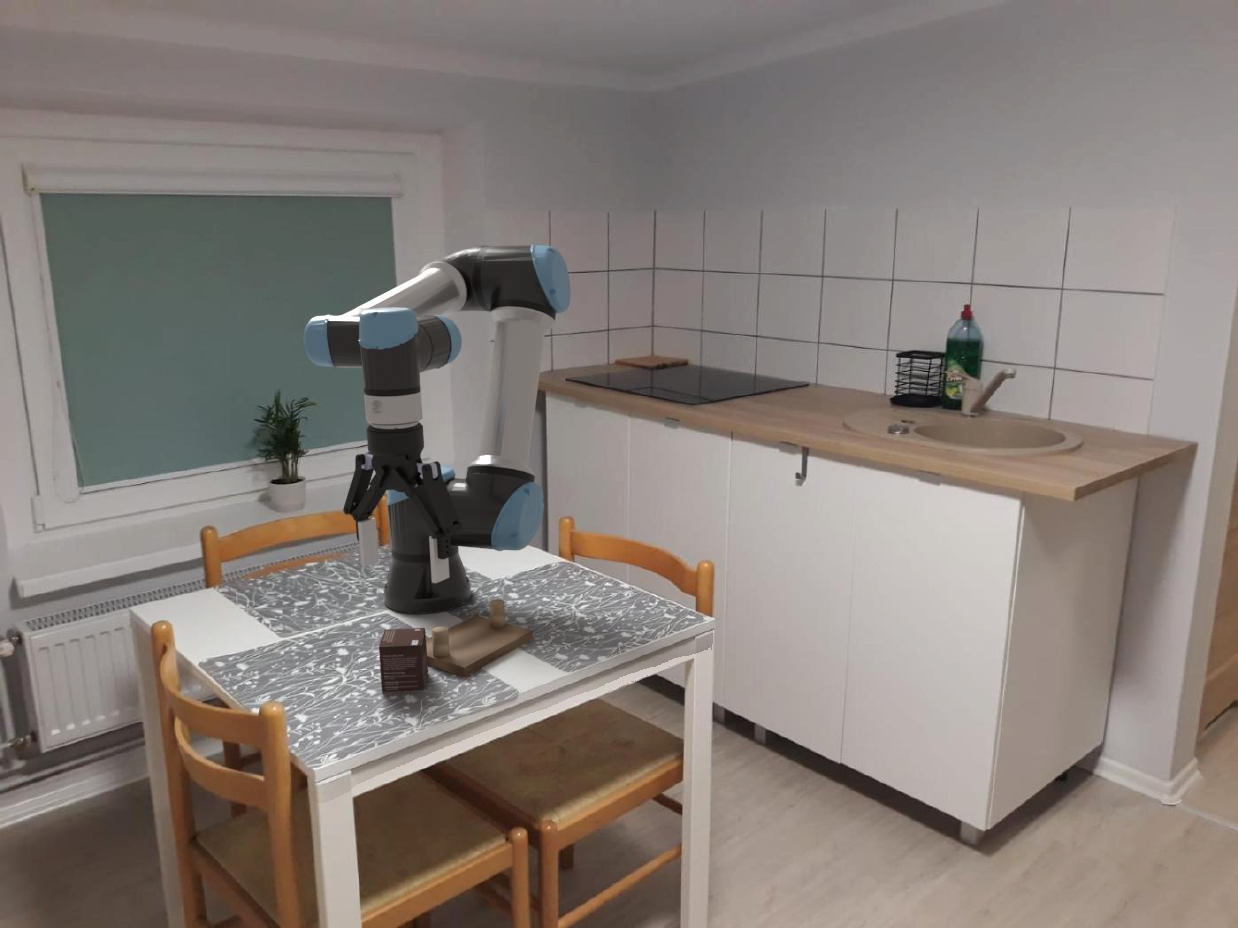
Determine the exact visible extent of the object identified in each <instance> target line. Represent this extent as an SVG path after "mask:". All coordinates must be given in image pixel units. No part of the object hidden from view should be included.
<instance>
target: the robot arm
mask: <svg viewBox="0 0 1238 928" xmlns="http://www.w3.org/2000/svg"><path fill="white" fill-rule="evenodd" d="M570 281H571V280H570V275H569V271H568V266H567V263H566V260H565V258H564V257H563V255H562V253H561V252H560V250H558V249H557V248H556V247H553V246H551V245H537V244H535V243H534V244H531V245H476V246H475V245H474V246H471V247H466V248H463V249H460V250H456V251H454V252H452V253H448V254H447V255H444V256H442V257H440V258H438V259H435V260H434V261H431V262H429V263H427V264H426V265H424V266H423V267H422V268H421V270H419V272H418V274H417V276H416V277H413V278H411V279H410V280H408V281H405V282H404V283H402V284H399V285H398V286H396V287H394V288H392V289H390V290H389V291H386V292H385V293H382V294H380V295H379V296H376V297H374V298H373V299H371V300H369V301H367V302H366V303H363V304H361V305H359V306H357V307H356V308H354V309H352V310H349V311H347V312H345V313H343V314H341V315H332V314H326V315H317V316H314V317H312V318H311V319H310V320H309V321H308V322H307V324H306V326H305V328H304V332H303V345H304V351H305V354H306V355H307V358H308V359H309V361H311V363H313V364H314V365H316V366H320V367H328V368H329V367H330V368H333V369H338V368H340V369H361V370H362V371H361V372H362V379H363V394H364V395H363V396H364V409H365V410H364V411H365V422H367V423H368V424H370V425H368V426H367V428H366V440H367V442H366V443H367V450H368V451H366V452H363V453H358V454H356V455H355V460H354V462H355V463H354V464H355V465H354V466H355V469H354V472H353V475H352V478H351V483H350V485H349V488H348V492H347V496H346V499H345V502H344V505H343V513H344V514H345V515H346V516H347V515H350V516H352V519H353V520H354V522H355V529H356V539H357V541H358V543H359V544H358V545H359V557H360V564H361V565H360V566H361V567H367V566H370V565H372V564H375V563H377V562H379V561H380V560H379V559H380V558H379V548H378V546H379V544H378V533H377V519H376V517H372V516H374V515H375V513H374V511H375V510H376V508H377V506H378V505H379V503H380V502H381V500H382V499H383V497H384V495H385V493H386V494H387V496H386V502H385V503H386V506H387V516H388V518H387V519H388V529H389V530H388V531H389V541H390V542H389V543H390V554H391V561H390V564H389V569H388V574H387V578H386V579H387V580H386V582H385V585H384V586H383V587H384V588H383V600H384V604H385V605H386V607H387V608H389V609H391V610H392V611H396V612H400V613H406V614H430V613H431V614H432V613H439V612H444V611H448V610H452V609H455V608H457V607H459V606H461V605H463V604H466V603H467V602H468V601H469V600H470V598H471V596H472V588H471V587H472V586H471V582H470V579H469V576H467V573H466V570H465V567H464V564H463V562H462V558H461V556H460V552H459V551H460V550H459V549H460V548H459V547H465V548H475V549H484V550H486V549H487V550H495V551H498V552H503V551H522V550H524V549H526V548H527V547H528V546H529V545H531V543H532V541H533V540H534V539H535V537H536V535H537V534H538V532H539V529H540V526H541V522H542V520H543V514H544V509H545V502H544V501H543V500H544V492H543V491H544V490H543V489H542V487H541V485H539V484H537V483H536V482H535V479H536V474H535V473H534V471H533V470H532V469H531V467H530V466H529V459H530V449H531V441H532V433H533V425H534V418H535V410H536V405H537V404H536V403H537V395H538V389H539V382H540V380H539V379H540V374H541V373H540V372H541V366H542V365H541V364H542V358H543V350H544V342H545V341H544V340H545V336H546V335H545V334H546V333H547V332H548V331H550V330H551V329H553V328H554V327H555V323H556V316H557V314H562V313H565V312H567V310H568V308H569V306H570V302H571V282H570ZM474 311H475V312H489V315H488V316H489V319H490V320H491V321H492V322H493V323H494V325H495V326H496V327H495V334H494V340H493V346H492V347H493V348H492V355H491V362H490V370H489V378H488V383H487V390H486V398H485V404H484V405H485V406H484V412H483V420H482V425H481V433H480V442H479V447H478V454H477V457H476V459H475V460H473V462H471V463H470V464H468V465H467V467H466V469H467V470H466V476H465V478H457V477H456V472H455V470H454V468H453V467H451V466H450V467H449V466H443V465H441V463H440V462H439V461H437V460H436V461H433V462H427V463H424V462H423V460H422V457H421V456H422V455H421V454H422V451H423V450H424V448H425V438H424V425H422V423H421V422H420V421H422V420H423V418H424V417H423V406H422V393H421V389H422V388H421V373H424V372H428V371H431V370H435V369H437V370H438V369H441V368H444V366H446V365H449V364H450V363H453V361H455V360H456V358H457V357H458V356H459V354H460V352H461V350H462V343H463V341H462V335H461V331H460V330H459V327H458V326H457V325H456V323H455V322H454V321H453V320H452V319H450V318H448V316H450V317H451V316H453V315H455V314H457V313H459V312H474ZM374 473H375V474H374ZM372 476H373V477H372Z"/></svg>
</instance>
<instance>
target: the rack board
mask: <svg viewBox="0 0 1238 928" xmlns="http://www.w3.org/2000/svg"><path fill="white" fill-rule="evenodd" d="M488 606H489V617H486V616H483V615H478V614H475V615H473V616H471V617H469V618H467V619H465V620H463V621H461V622H459V623H456V624H455V625H453V626H451V627H449V628H448V627H446V626H436V627H434V628H432V629H431V636H430V637H428V638H426V646H427V663H428V667H432V668H435V669H439V670H442V671H445V672H448V673H452V674H453V675H457V676H461V677H464V678H466V677H467V676H470V675H471V674H474V673H475V672H476V671H479V670H480V669H482V668H484V667H486V666H487V665H489V664H491V663H492V662H495V661H496V660H499V659H500V658H503V656H506V655H507V654H509V653H511V652H512V651H515V650H516V649H518V648H520V647H522V646H524V645H525V644H527V643H529V642H531V641H532V640H534V630H533V629H529V628H525V627H523V626H522V627H521V626H519V625H517V624H511V623H508V622H506V610H505V608H506V605H505V601H504V600H503V599H498V598H497V599H493V600H490V601H489V605H488Z"/></svg>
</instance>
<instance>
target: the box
mask: <svg viewBox="0 0 1238 928" xmlns="http://www.w3.org/2000/svg"><path fill="white" fill-rule="evenodd" d="M426 639H427V634H426V628H425V627H413V628H394V629H393V628H392V629H390V628H389V629H384V630H383V633H382V636H381V639H380V643H379V645H378V649H379V651H378V652H379V666H380V681H381V682H380V684H381V693H383V694H394V693H412V692H414V693H415V692H424V691H425V690H426V689H425V688H426V685H427V679H428V673H429V668H428V667H429V665H428V663H427V646H426Z"/></svg>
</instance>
